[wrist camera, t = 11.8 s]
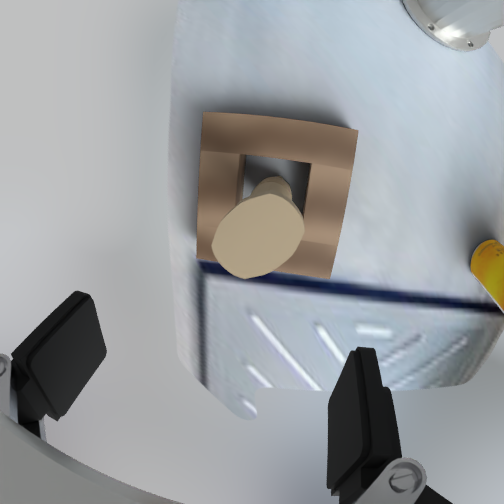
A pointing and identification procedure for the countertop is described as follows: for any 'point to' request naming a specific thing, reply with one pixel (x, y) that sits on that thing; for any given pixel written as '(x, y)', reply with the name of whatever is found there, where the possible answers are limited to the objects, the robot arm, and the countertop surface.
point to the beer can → (490, 269)
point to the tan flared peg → (259, 231)
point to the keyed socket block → (282, 147)
